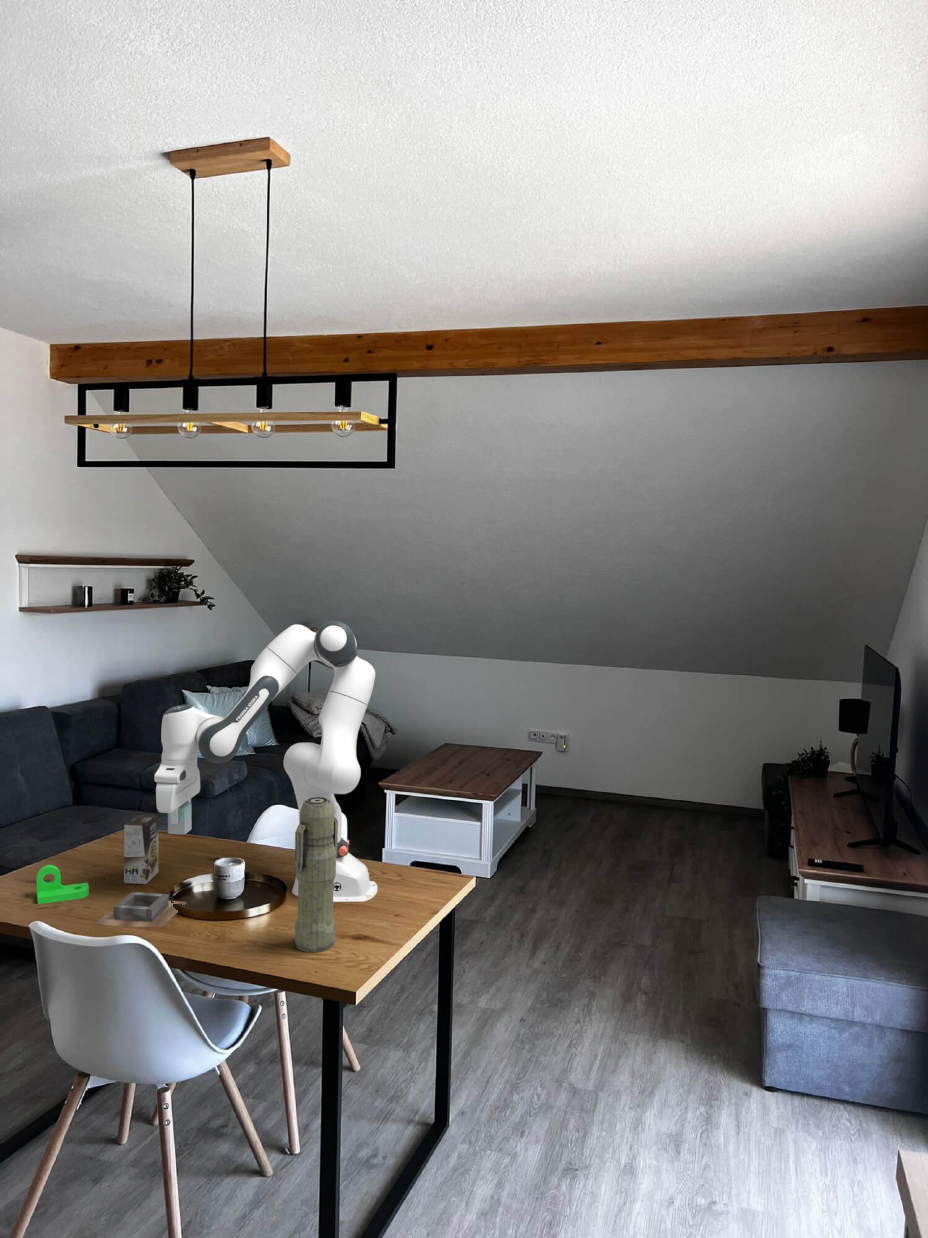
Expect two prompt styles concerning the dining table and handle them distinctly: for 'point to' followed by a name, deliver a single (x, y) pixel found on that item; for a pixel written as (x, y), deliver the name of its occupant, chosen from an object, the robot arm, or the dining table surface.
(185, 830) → the pale teal block
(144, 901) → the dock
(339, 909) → the dining table surface
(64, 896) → the mechanical part
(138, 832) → the coffee box
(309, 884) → the thermos
